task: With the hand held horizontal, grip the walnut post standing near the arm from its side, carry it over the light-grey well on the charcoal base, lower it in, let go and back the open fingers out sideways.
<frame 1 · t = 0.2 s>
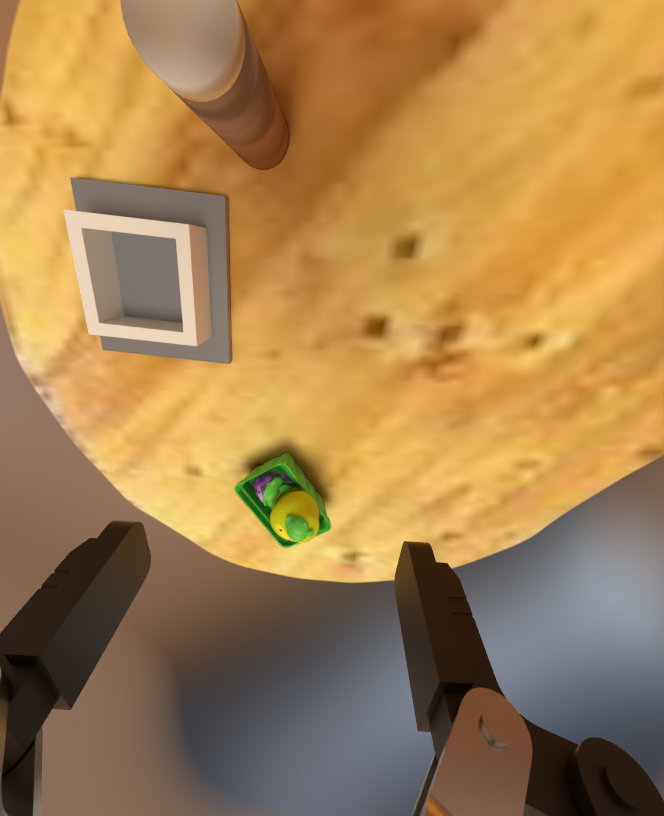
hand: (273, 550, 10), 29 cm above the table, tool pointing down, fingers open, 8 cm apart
fruit basket: (293, 480, 45), on the table
walnut post: (260, 135, 29), on the table
post well: (162, 279, 34), on the table
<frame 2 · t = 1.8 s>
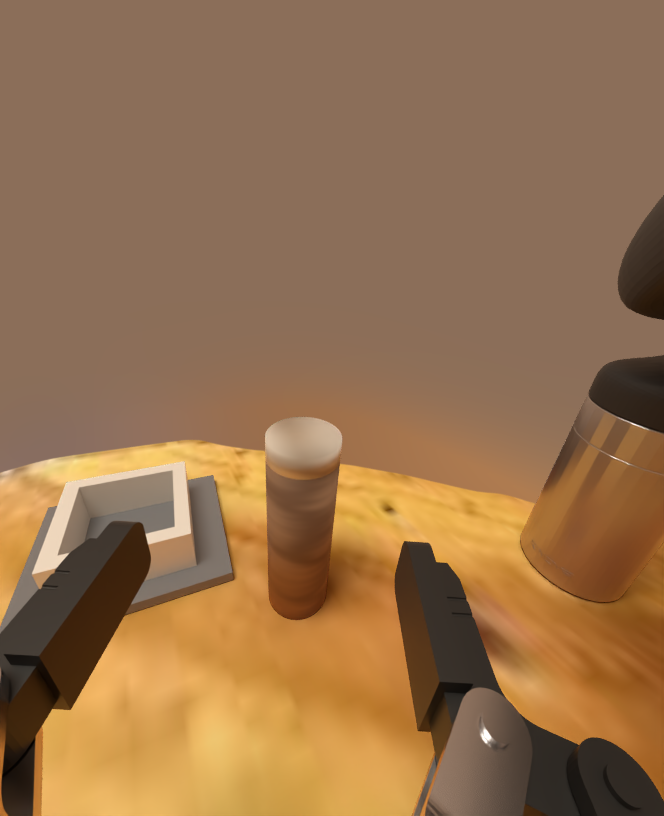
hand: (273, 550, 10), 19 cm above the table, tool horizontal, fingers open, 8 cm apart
walnut post: (297, 590, 29), on the table
post well: (135, 544, 32), on the table
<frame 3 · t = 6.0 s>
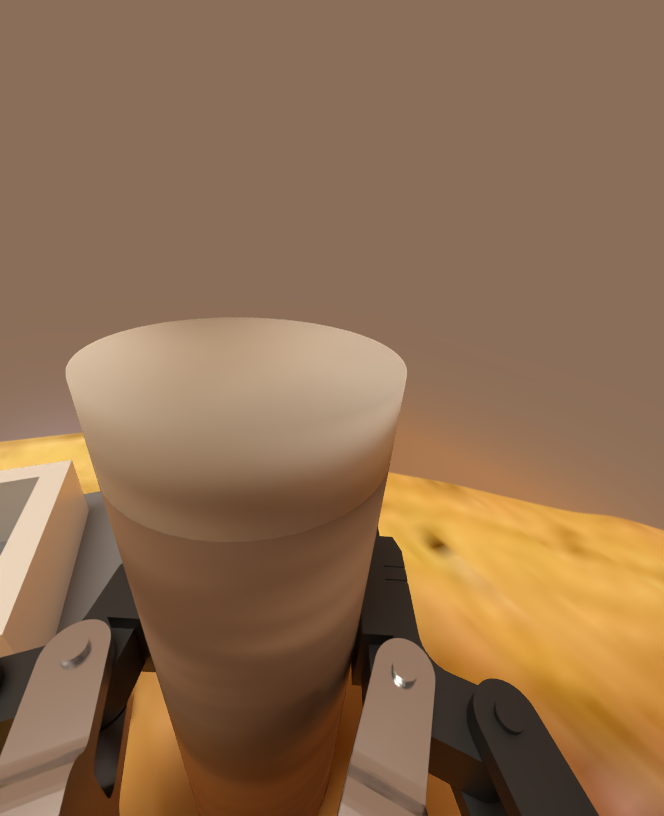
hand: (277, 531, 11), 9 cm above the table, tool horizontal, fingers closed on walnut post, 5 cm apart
walnut post: (265, 753, 13), on the table, touching gripper
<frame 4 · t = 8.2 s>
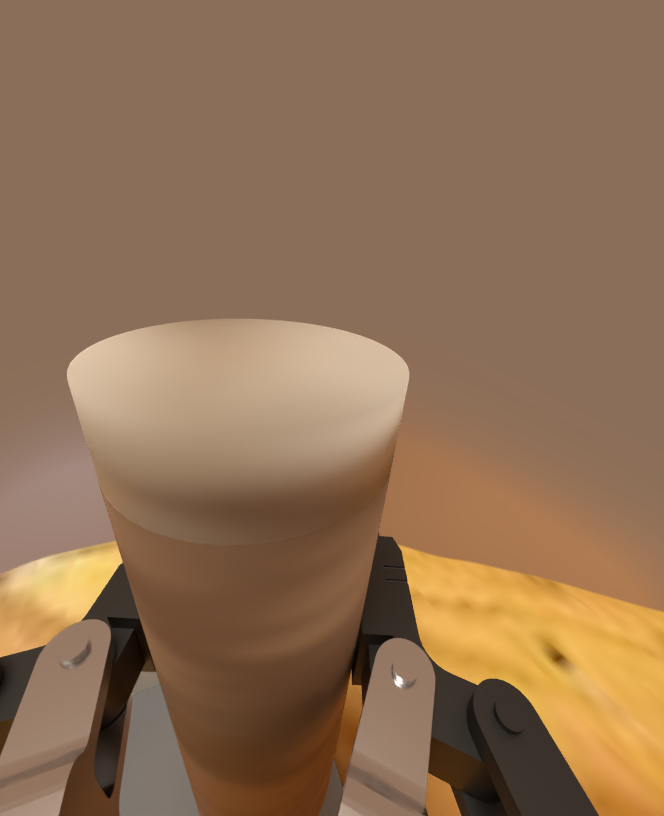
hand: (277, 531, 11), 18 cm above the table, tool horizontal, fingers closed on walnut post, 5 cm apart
walnut post: (266, 755, 13), point 9 cm above the table, touching gripper
post well: (178, 765, 18), on the table
when the fingers open (11 cm above the table, at t = 10.8 s): walnut post drops 1 cm, resting on post well.
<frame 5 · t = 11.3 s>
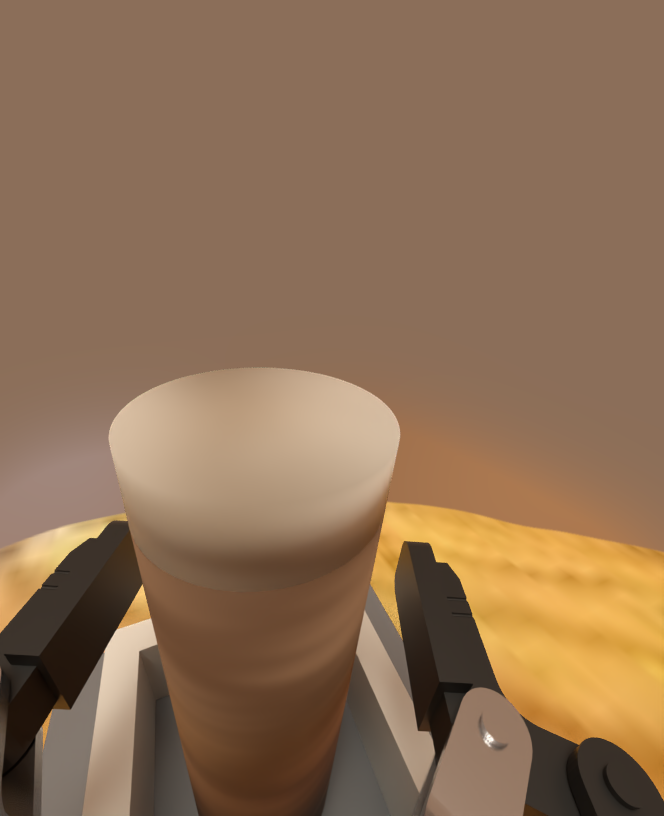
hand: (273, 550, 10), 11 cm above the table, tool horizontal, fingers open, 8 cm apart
walnut post: (266, 770, 13), point 1 cm above the table, touching post well
post well: (265, 777, 14), on the table
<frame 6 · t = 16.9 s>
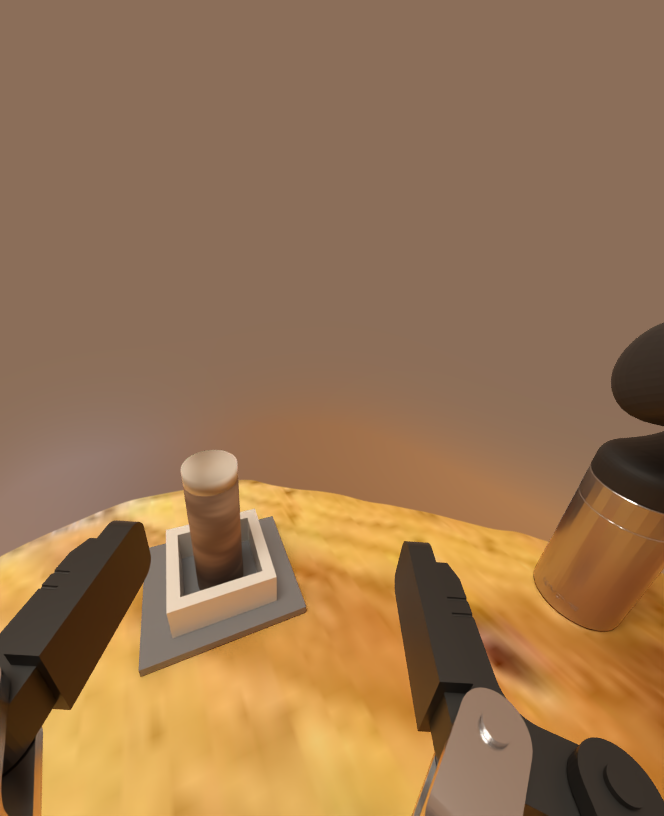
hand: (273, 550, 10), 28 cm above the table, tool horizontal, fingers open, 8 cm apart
walnut post: (220, 576, 38), point 1 cm above the table, touching post well
post well: (221, 581, 39), on the table
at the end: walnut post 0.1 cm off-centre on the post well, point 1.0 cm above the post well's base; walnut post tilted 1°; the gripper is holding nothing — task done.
